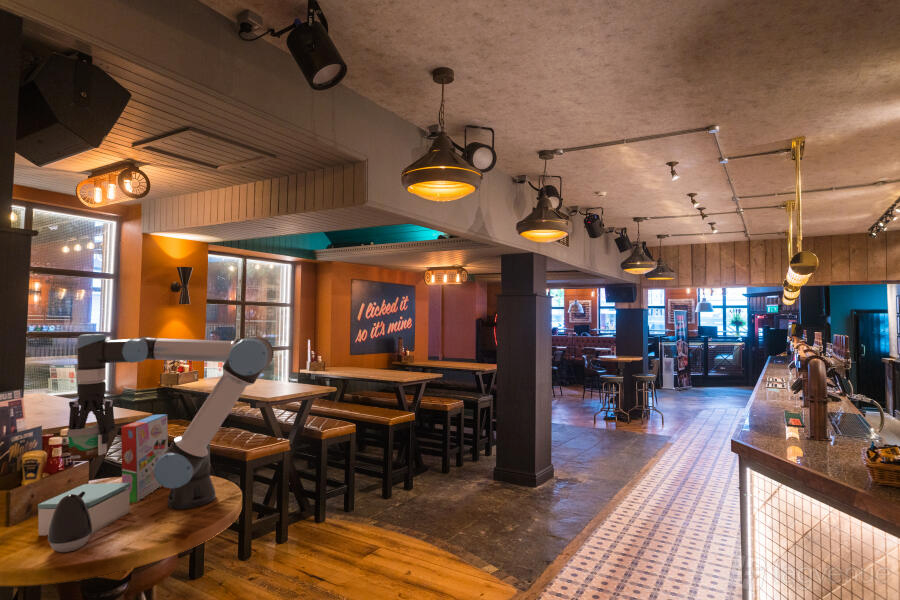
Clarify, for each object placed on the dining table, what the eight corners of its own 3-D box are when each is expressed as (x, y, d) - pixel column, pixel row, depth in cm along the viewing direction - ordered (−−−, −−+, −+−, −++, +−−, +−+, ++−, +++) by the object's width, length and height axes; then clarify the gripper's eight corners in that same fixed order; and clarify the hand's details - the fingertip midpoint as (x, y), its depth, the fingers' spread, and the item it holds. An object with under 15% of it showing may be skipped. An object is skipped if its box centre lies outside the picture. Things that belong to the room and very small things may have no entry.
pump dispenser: (101, 539, 152) (100, 488, 152) (74, 556, 141) (73, 501, 142) (67, 539, 152) (67, 488, 153) (38, 556, 142) (38, 501, 142)
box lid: (130, 486, 173) (130, 482, 173) (89, 506, 155) (89, 502, 155) (84, 487, 174) (84, 484, 174) (37, 508, 156) (37, 504, 156)
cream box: (129, 512, 173) (129, 488, 173) (88, 535, 155) (88, 509, 155) (84, 512, 174) (84, 488, 174) (38, 535, 156) (38, 508, 156)
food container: (82, 463, 158) (82, 430, 158) (66, 462, 159) (66, 429, 159) (116, 452, 170) (116, 421, 170) (100, 451, 171) (100, 421, 171)
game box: (155, 483, 203) (154, 414, 203) (169, 483, 203) (168, 414, 203) (121, 503, 182) (120, 426, 182) (136, 502, 182) (136, 425, 182)
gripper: (128, 380, 168) (128, 450, 168) (72, 380, 169) (72, 450, 169) (111, 383, 161) (112, 457, 160) (53, 384, 162) (53, 457, 161)
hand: (91, 453), depth 165 cm, fingers closed on food container, 6 cm apart
